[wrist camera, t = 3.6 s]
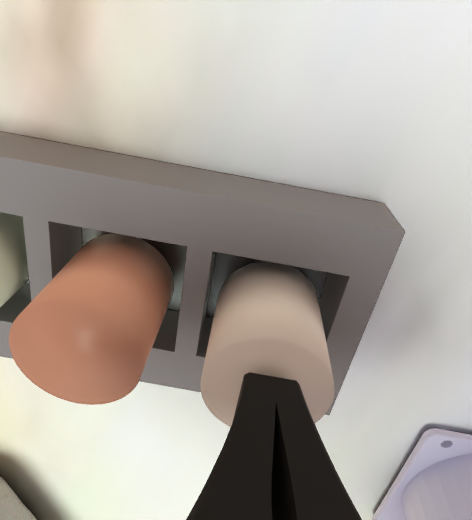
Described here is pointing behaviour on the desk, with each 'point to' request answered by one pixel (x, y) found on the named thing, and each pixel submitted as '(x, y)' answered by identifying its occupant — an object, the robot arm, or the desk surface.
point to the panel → (195, 239)
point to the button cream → (266, 338)
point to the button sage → (12, 256)
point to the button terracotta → (95, 321)
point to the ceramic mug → (12, 505)
